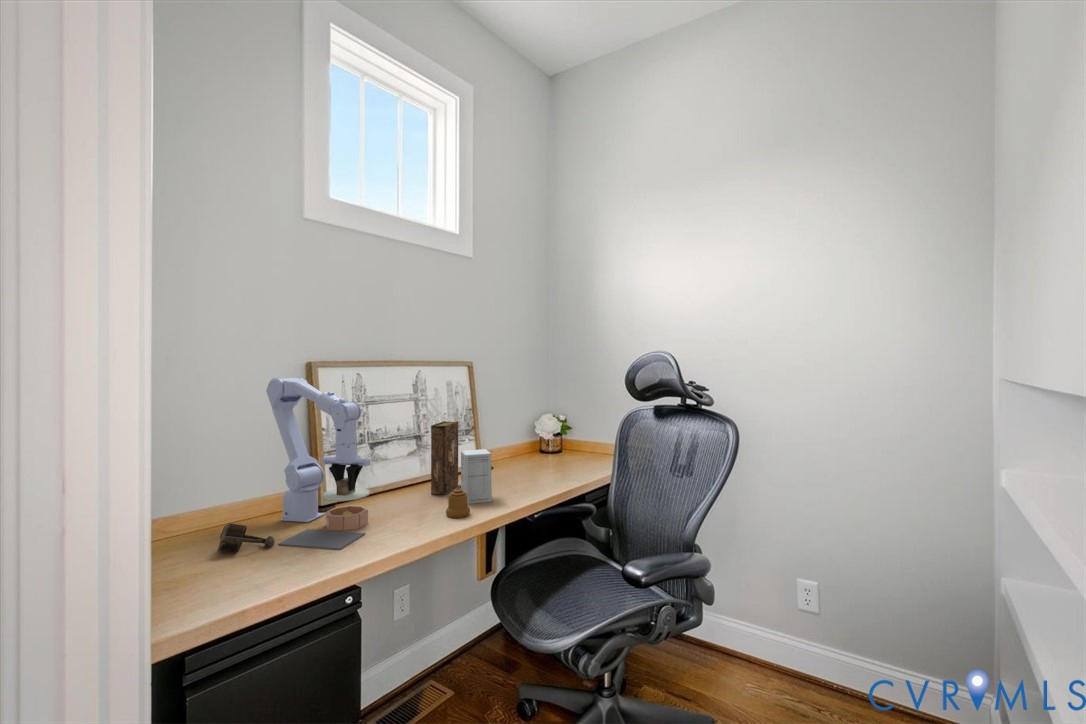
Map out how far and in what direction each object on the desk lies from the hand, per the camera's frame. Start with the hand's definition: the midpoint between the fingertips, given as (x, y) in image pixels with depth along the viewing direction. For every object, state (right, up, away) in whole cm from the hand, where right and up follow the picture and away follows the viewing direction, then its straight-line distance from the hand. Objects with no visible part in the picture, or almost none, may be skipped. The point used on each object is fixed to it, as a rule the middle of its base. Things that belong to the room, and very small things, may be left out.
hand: (346, 489), depth 149 cm
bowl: (0, -10, +1) cm, 10 cm away
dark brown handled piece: (-18, -11, -20) cm, 29 cm away
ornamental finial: (+31, -11, +10) cm, 35 cm away
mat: (-1, -10, -12) cm, 16 cm away
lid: (0, -2, 0) cm, 2 cm away
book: (+21, -11, +41) cm, 48 cm away
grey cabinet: (+35, -11, +28) cm, 46 cm away
